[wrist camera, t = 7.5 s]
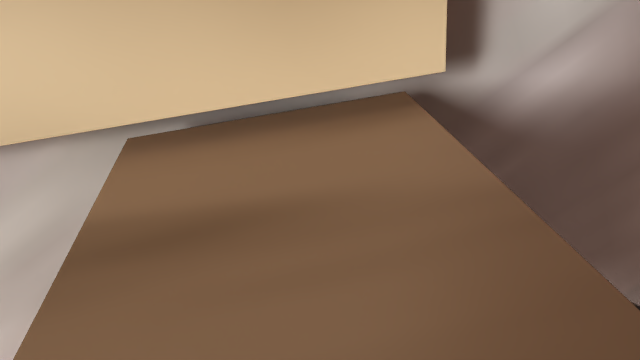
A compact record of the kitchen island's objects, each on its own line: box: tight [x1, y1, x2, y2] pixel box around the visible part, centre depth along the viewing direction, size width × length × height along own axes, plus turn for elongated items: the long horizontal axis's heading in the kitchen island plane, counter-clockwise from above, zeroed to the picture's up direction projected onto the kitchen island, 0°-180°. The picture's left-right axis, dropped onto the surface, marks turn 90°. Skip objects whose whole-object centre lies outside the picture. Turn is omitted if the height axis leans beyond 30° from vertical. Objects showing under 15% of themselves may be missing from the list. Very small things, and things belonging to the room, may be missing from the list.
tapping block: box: [13, 92, 640, 360], centre depth 7 cm, size 5×5×6 cm
